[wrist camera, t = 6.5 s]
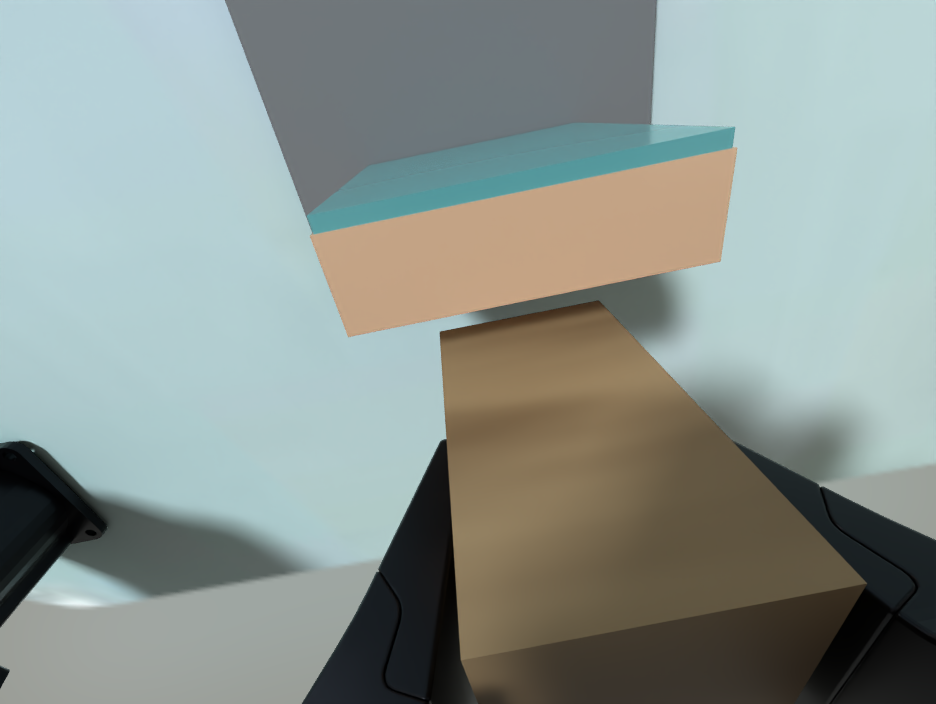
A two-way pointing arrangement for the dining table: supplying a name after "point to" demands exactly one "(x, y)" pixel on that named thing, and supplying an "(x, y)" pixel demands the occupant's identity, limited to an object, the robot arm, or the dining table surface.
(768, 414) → the dining table surface
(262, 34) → the rubber mat
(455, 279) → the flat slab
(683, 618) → the walnut block
